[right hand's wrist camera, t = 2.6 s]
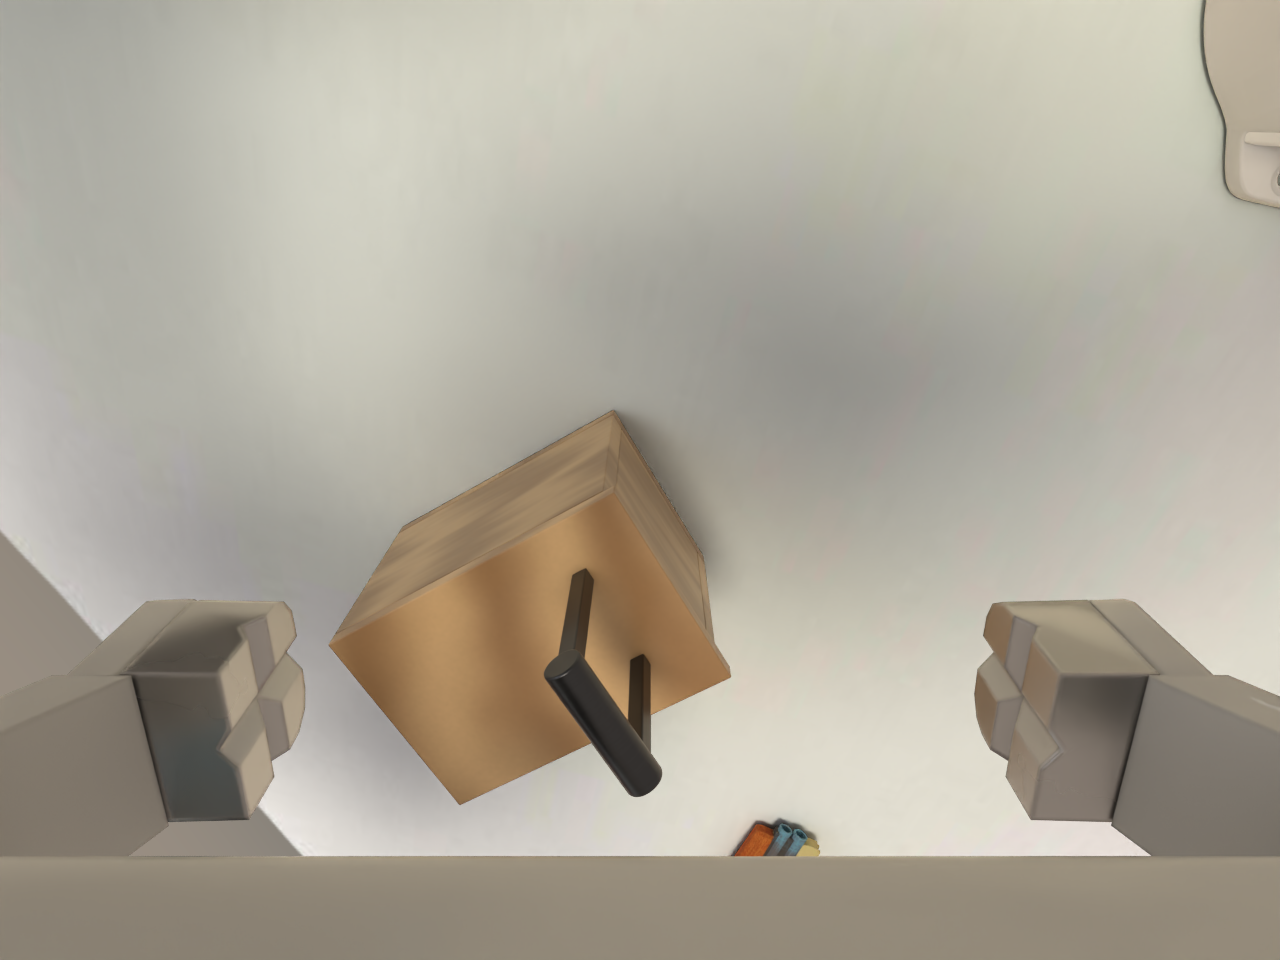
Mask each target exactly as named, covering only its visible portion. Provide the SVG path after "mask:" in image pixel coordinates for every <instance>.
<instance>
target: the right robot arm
mask: <svg viewBox="0 0 1280 960" xmlns="http://www.w3.org/2000/svg"><path fill="white" fill-rule="evenodd" d="M1204 50H1205V58H1206V64H1207V69H1208V73H1209V77H1210V80H1211V84H1212V87H1213V89H1214V92H1215V94H1216V97H1217V99H1218V102H1219V105H1220V107H1221V110H1222V112H1223V116H1224V119H1225V123H1226V128H1227V134H1226V149H1225V178H1226V183H1227V186H1228V189H1229V190H1230V192H1231V193H1232V194H1233V195H1234V196H1236V197H1237V198H1240V199H1242V200H1246V201H1250V202H1255V203H1259V204H1264V205H1268V206H1273V207H1277V208H1280V186H1279V185H1278V182H1277V179H1278V176H1279V174H1280V0H1206V5H1205V14H1204ZM296 636H297V634H296V629H295V624H294V620H293V615H292V610H291V609H290V608H289V607H288V606H287V605H286V604H285V602H280V601H226V600H198V601H197V600H195V599H178V600H154V601H146V602H145V603H144V604H143V605H142V606H141V607H140V608H139V609H138V610H136V611H135V612H134V613H133V614H132V615H131V616H130V617H129V618H128V619H127V620H126V621H125V622H123V623H122V624H121V625H120V626H119V627H118V628H117V629H116V630H115V631H114V632H113V633H112V634H111V635H109V636H108V637H107V638H106V639H105V640H104V641H103V642H102V643H101V644H100V645H99V646H98V647H96V648H95V649H94V650H93V651H92V652H91V653H90V654H89V655H88V656H87V657H86V658H85V659H84V660H82V661H81V662H80V663H79V664H78V665H77V666H76V667H75V668H74V669H73V670H72V671H71V672H69V673H68V674H67V675H52V676H49V677H47V678H44V679H42V680H39V681H37V682H34V683H32V684H30V685H27V686H25V687H22V688H20V689H17V690H15V691H12V692H10V693H8V694H5V695H3V696H0V960H1280V696H1277V695H1275V694H1272V693H1270V692H1268V691H1265V690H1263V689H1260V688H1258V687H1255V686H1253V685H1250V684H1248V683H1246V682H1243V681H1241V680H1238V679H1236V678H1233V677H1231V676H1229V675H1213V674H1212V673H1211V672H1210V671H1208V670H1207V669H1206V668H1205V667H1204V666H1203V665H1202V664H1201V663H1200V662H1199V661H1198V660H1197V659H1196V658H1194V657H1193V656H1192V655H1191V654H1190V653H1189V652H1188V651H1187V650H1186V649H1185V648H1184V647H1183V646H1182V645H1180V644H1179V643H1178V642H1177V641H1176V640H1175V639H1174V638H1173V637H1172V636H1171V635H1170V634H1169V633H1168V632H1166V631H1165V630H1164V629H1163V628H1162V627H1161V626H1160V625H1159V624H1158V623H1157V622H1156V621H1155V620H1154V619H1152V618H1151V617H1150V616H1149V615H1148V614H1147V613H1146V612H1145V611H1144V610H1143V609H1142V608H1141V607H1140V606H1138V605H1137V604H1136V603H1135V602H1132V601H1129V600H1125V599H1109V600H1063V601H1022V602H1000V603H993V604H992V606H991V608H990V610H989V613H988V615H987V617H986V623H985V628H984V634H983V636H984V638H985V639H986V641H987V642H988V644H989V645H990V647H991V649H992V650H993V653H992V655H991V656H990V657H989V658H988V659H987V660H986V661H985V662H984V663H983V664H982V665H981V666H980V667H979V668H978V670H977V678H976V685H975V693H974V695H975V706H976V717H977V720H978V724H979V727H980V730H981V733H982V735H983V737H984V739H985V741H986V743H987V745H988V747H989V748H990V750H992V751H993V752H995V753H997V754H998V755H1000V756H1001V757H1003V758H1005V759H1006V760H1008V766H1007V772H1006V778H1007V780H1008V782H1009V783H1010V785H1011V787H1012V788H1013V790H1014V792H1015V794H1016V795H1017V797H1018V799H1019V800H1020V802H1021V804H1022V806H1023V807H1024V809H1025V811H1026V812H1027V814H1028V816H1029V818H1030V819H1031V820H1055V821H1092V822H1112V824H1111V826H1113V827H1114V828H1115V829H1117V830H1118V831H1119V832H1121V833H1122V834H1123V835H1125V836H1126V837H1127V838H1129V839H1130V840H1131V841H1133V842H1134V843H1135V844H1137V845H1138V846H1139V847H1141V848H1142V849H1143V850H1145V851H1146V852H1147V853H1149V854H1150V855H1151V856H129V855H130V854H132V853H133V852H134V851H136V850H137V849H138V848H140V847H141V846H142V845H144V844H145V843H146V842H148V841H149V840H150V839H152V838H153V837H154V836H156V835H157V834H158V833H160V832H161V831H162V830H164V829H165V828H166V827H168V822H187V821H222V820H249V819H250V818H251V816H252V814H253V812H254V811H255V809H256V807H257V806H258V804H259V802H260V801H261V799H262V797H263V795H264V794H265V792H266V790H267V788H268V787H269V785H270V783H271V782H272V780H273V778H274V772H273V766H272V760H274V759H275V758H277V757H279V756H280V755H282V754H283V753H285V752H287V751H288V750H290V748H291V746H292V745H293V743H294V741H295V739H296V737H297V735H298V733H299V731H300V727H301V723H302V718H303V714H304V710H305V683H304V676H303V670H302V668H301V667H300V666H299V665H298V664H297V663H296V662H295V661H294V660H293V659H292V658H291V657H290V656H289V655H288V653H287V650H288V649H289V647H290V645H291V644H292V642H293V641H294V639H295V638H296Z"/></svg>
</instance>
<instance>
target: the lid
mask: <svg viewBox="0 0 1280 960" xmlns="http://www.w3.org/2000/svg"><path fill="white" fill-rule="evenodd" d="M329 646H330V648H331V649H332V650H333V651H334V653H335V654H336V655H337V656H338V657H339V659H340V660H341V661H342V662H343V664H344V665H345V666H346V667H347V668H348V670H349V671H350V672H351V673H352V674H353V676H354V677H355V678H356V679H357V681H358V682H359V683H360V684H361V685H362V687H363V688H364V689H365V690H366V692H367V693H368V694H369V695H370V696H371V698H372V699H373V700H374V701H375V703H376V704H377V705H378V706H379V707H380V709H381V710H382V711H383V712H384V713H385V715H386V716H387V717H388V718H389V720H390V721H391V722H392V723H393V724H394V726H395V727H396V728H397V729H398V731H399V732H400V733H401V734H402V735H403V737H404V738H405V739H406V740H407V742H408V743H409V744H410V745H411V746H412V748H413V749H414V750H415V751H416V752H417V754H418V755H419V756H420V757H421V759H422V760H423V761H424V762H425V763H426V765H427V766H428V767H429V768H430V770H431V771H432V772H433V773H434V774H435V776H436V777H437V778H438V779H439V781H440V782H441V783H442V784H443V785H444V787H445V788H446V789H447V790H448V791H449V793H450V794H451V795H452V796H453V798H454V799H455V800H456V801H457V802H458V804H459V805H461V804H463V803H465V802H467V801H470V800H472V799H474V798H476V797H478V796H480V795H482V794H484V793H487V792H489V791H491V790H493V789H495V788H497V787H499V786H501V785H504V784H506V783H508V782H510V781H512V780H514V779H516V778H518V777H520V776H523V775H525V774H527V773H529V772H531V771H533V770H535V769H537V768H540V767H542V766H544V765H546V764H548V763H550V762H552V761H554V760H557V759H559V758H561V757H563V756H565V755H567V754H569V753H571V752H574V751H576V750H578V749H580V748H582V747H584V746H586V745H588V744H590V743H592V744H593V746H594V747H595V749H596V750H597V751H598V753H599V754H600V755H601V757H602V758H603V760H604V761H605V762H606V764H607V765H608V766H609V768H610V769H611V771H612V772H613V773H614V775H615V776H616V777H617V779H618V780H619V782H620V783H621V784H622V786H623V787H624V788H625V790H626V791H627V793H628V794H629V795H631V796H633V797H641V796H644V795H646V794H648V793H649V792H651V791H652V790H653V789H654V788H655V787H656V786H657V785H658V784H659V782H660V780H661V778H662V769H661V767H660V765H659V764H658V763H657V761H656V760H655V758H654V757H653V755H652V754H651V715H652V714H654V713H656V712H658V711H660V710H663V709H665V708H667V707H669V706H671V705H673V704H675V703H677V702H680V701H682V700H684V699H686V698H688V697H690V696H692V695H694V694H697V693H699V692H701V691H703V690H705V689H707V688H709V687H711V686H714V685H716V684H718V683H720V682H722V681H724V680H726V679H728V678H730V677H731V673H730V667H729V665H728V663H727V662H726V660H725V659H724V657H723V656H722V654H721V652H720V651H719V649H718V648H717V646H716V644H715V643H714V641H713V640H712V638H711V637H710V635H709V633H708V632H707V630H706V629H705V627H704V625H703V624H702V622H701V621H700V619H699V618H698V616H697V614H696V613H695V611H694V610H693V608H692V606H691V605H690V603H689V602H688V600H687V599H686V597H685V595H684V594H683V592H682V591H681V589H680V588H679V586H678V584H677V583H676V581H675V580H674V578H673V576H672V575H671V573H670V572H669V570H668V569H667V567H666V565H665V564H664V562H663V561H662V559H661V557H660V556H659V554H658V553H657V551H656V550H655V548H654V546H653V545H652V543H651V542H650V540H649V539H648V537H647V535H646V534H645V532H644V531H643V529H642V527H641V526H640V524H639V523H638V521H637V520H636V518H635V516H634V515H633V513H632V512H631V510H630V508H629V507H628V505H627V504H626V502H625V501H624V499H623V497H622V496H621V494H620V493H619V491H618V490H617V488H616V486H612V487H610V488H609V489H607V490H605V491H603V492H601V493H599V494H597V495H595V496H594V497H592V498H590V499H588V500H586V501H584V502H582V503H581V504H579V505H577V506H575V507H573V508H571V509H569V510H567V511H566V512H564V513H562V514H560V515H558V516H556V517H554V518H552V519H551V520H549V521H547V522H545V523H543V524H541V525H539V526H538V527H536V528H534V529H532V530H530V531H528V532H526V533H524V534H523V535H521V536H519V537H517V538H515V539H513V540H511V541H509V542H508V543H506V544H504V545H502V546H500V547H498V548H496V549H495V550H493V551H491V552H489V553H487V554H485V555H483V556H481V557H480V558H478V559H476V560H474V561H472V562H470V563H468V564H466V565H465V566H463V567H461V568H459V569H457V570H455V571H453V572H452V573H450V574H448V575H446V576H444V577H442V578H440V579H438V580H437V581H435V582H433V583H431V584H429V585H427V586H425V587H423V588H422V589H420V590H418V591H416V592H414V593H412V594H410V595H409V596H407V597H405V598H403V599H401V600H399V601H397V602H395V603H394V604H392V605H390V606H388V607H386V608H384V609H382V610H380V611H379V612H377V613H375V614H373V615H371V616H369V617H367V618H366V619H364V620H362V621H360V622H358V623H356V624H354V625H352V626H351V627H349V628H347V629H345V630H343V631H341V632H339V633H337V634H336V635H334V637H333V638H332V640H331V642H330V643H329Z"/></svg>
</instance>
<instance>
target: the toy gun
mask: <svg viewBox="0 0 1280 960" xmlns="http://www.w3.org/2000/svg"><path fill="white" fill-rule="evenodd" d="M818 848H819V845H818V844H817V841H815V840H813V839H811V838H807V835H806V834H805V833H804V832H803V831H802V830H800V829H794V830H793V832H792V829H791V828H790V827H789V826H788V825H786V824H783V823H781V824H780V826H779V827H778V826H776V827H775V828H774V830H772V829H770V828H768V827H766V826H764V825H760V824H757V825H756V826H755V827H754V828H753V830H752V831H751V833H750V834H749V835H748V837H747V838H746V840H745V841H744V842H743V844H742V845H741V847H740V848H739V850H738V851H737V853H736V854H735V856H819V854H820V850H818Z"/></svg>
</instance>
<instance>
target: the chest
mask: <svg viewBox="0 0 1280 960" xmlns="http://www.w3.org/2000/svg"><path fill="white" fill-rule="evenodd" d="M612 486H616V488H617V490H618V491H619V493H620V494H621V496H622V497H623V499H624V501H625V502H626V504H627V505H628V507H629V508H630V510H631V512H632V513H633V515H634V516H635V518H636V520H637V521H638V523H639V524H640V526H641V527H642V529H643V531H644V532H645V534H646V535H647V537H648V539H649V540H650V542H651V543H652V545H653V546H654V548H655V550H656V551H657V553H658V554H659V556H660V557H661V559H662V561H663V562H664V564H665V565H666V567H667V569H668V570H669V572H670V573H671V575H672V576H673V578H674V580H675V581H676V583H677V584H678V586H679V588H680V589H681V591H682V592H683V594H684V595H685V597H686V599H687V600H688V602H689V603H690V605H691V606H692V608H693V610H694V611H695V613H696V614H697V616H698V618H699V619H700V621H701V622H702V624H703V625H704V627H705V629H706V630H707V632H708V633H709V635H710V637H711V638H712V640H713V641H714V634H713V627H712V619H711V611H710V603H709V595H708V587H707V580H706V572H705V564H704V557H703V555H702V553H701V552H700V550H699V548H698V547H697V545H696V544H695V542H694V540H693V539H692V537H691V535H690V534H689V532H688V530H687V529H686V527H685V526H684V524H683V522H682V521H681V519H680V517H679V516H678V514H677V513H676V511H675V509H674V508H673V506H672V504H671V503H670V501H669V499H668V498H667V496H666V495H665V493H664V491H663V490H662V488H661V486H660V485H659V483H658V481H657V480H656V478H655V477H654V475H653V473H652V472H651V470H650V468H649V467H648V465H647V464H646V462H645V460H644V459H643V457H642V455H641V454H640V452H639V450H638V449H637V447H636V446H635V444H634V442H633V441H632V439H631V437H630V436H629V434H628V433H627V431H626V429H625V428H624V426H623V424H622V423H621V421H620V419H619V418H618V416H617V415H616V413H615V411H611V412H609V413H607V414H605V415H603V416H602V417H600V418H598V419H596V420H594V421H593V422H591V423H589V424H587V425H585V426H584V427H582V428H580V429H578V430H576V431H575V432H573V433H571V434H569V435H567V436H566V437H564V438H562V439H560V440H558V441H557V442H555V443H553V444H551V445H549V446H548V447H546V448H544V449H542V450H540V451H539V452H537V453H535V454H533V455H531V456H530V457H528V458H526V459H524V460H522V461H521V462H519V463H517V464H515V465H513V466H511V467H510V468H508V469H506V470H504V471H502V472H501V473H499V474H497V475H495V476H493V477H492V478H490V479H488V480H486V481H484V482H483V483H481V484H479V485H477V486H475V487H474V488H472V489H470V490H468V491H466V492H465V493H463V494H461V495H459V496H457V497H456V498H454V499H452V500H450V501H448V502H447V503H445V504H443V505H441V506H439V507H438V508H436V509H434V510H432V511H430V512H429V513H427V514H425V515H423V516H421V517H419V518H418V519H416V520H414V521H412V522H410V523H409V524H407V525H405V526H403V527H402V529H401V530H400V532H399V533H398V535H397V536H396V538H395V540H394V541H393V543H392V544H391V546H390V548H389V549H388V551H387V552H386V554H385V556H384V557H383V559H382V560H381V562H380V564H379V565H378V567H377V568H376V570H375V572H374V573H373V575H372V576H371V578H370V579H369V581H368V583H367V584H366V586H365V587H364V589H363V591H362V592H361V594H360V595H359V597H358V599H357V600H356V602H355V603H354V605H353V607H352V608H351V610H350V611H349V613H348V615H347V616H346V618H345V619H344V621H343V622H342V624H341V626H340V627H339V629H338V630H337V632H336V634H337V633H339V632H341V631H343V630H345V629H347V628H349V627H351V626H352V625H354V624H356V623H358V622H360V621H362V620H364V619H366V618H367V617H369V616H371V615H373V614H375V613H377V612H379V611H380V610H382V609H384V608H386V607H388V606H390V605H392V604H394V603H395V602H397V601H399V600H401V599H403V598H405V597H407V596H409V595H410V594H412V593H414V592H416V591H418V590H420V589H422V588H423V587H425V586H427V585H429V584H431V583H433V582H435V581H437V580H438V579H440V578H442V577H444V576H446V575H448V574H450V573H452V572H453V571H455V570H457V569H459V568H461V567H463V566H465V565H466V564H468V563H470V562H472V561H474V560H476V559H478V558H480V557H481V556H483V555H485V554H487V553H489V552H491V551H493V550H495V549H496V548H498V547H500V546H502V545H504V544H506V543H508V542H509V541H511V540H513V539H515V538H517V537H519V536H521V535H523V534H524V533H526V532H528V531H530V530H532V529H534V528H536V527H538V526H539V525H541V524H543V523H545V522H547V521H549V520H551V519H552V518H554V517H556V516H558V515H560V514H562V513H564V512H566V511H567V510H569V509H571V508H573V507H575V506H577V505H579V504H581V503H582V502H584V501H586V500H588V499H590V498H592V497H594V496H595V495H597V494H599V493H601V492H603V491H605V490H607V489H609V488H610V487H612ZM714 643H715V642H714Z"/></svg>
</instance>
